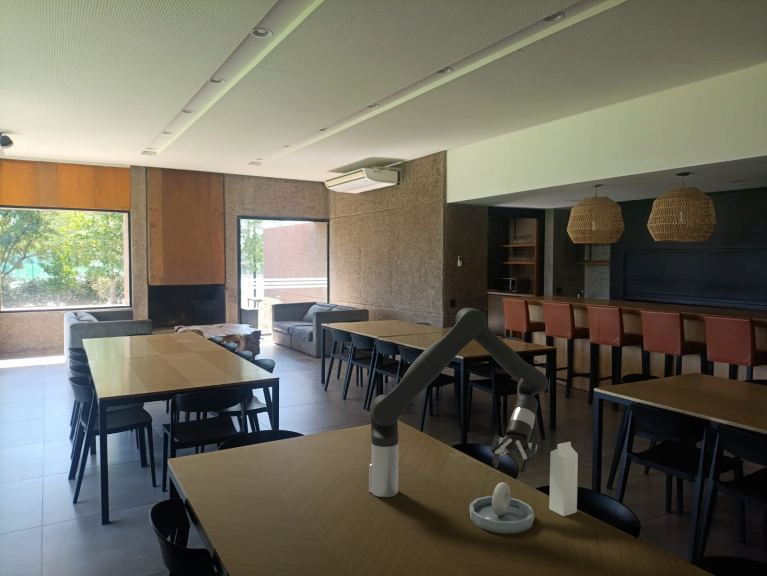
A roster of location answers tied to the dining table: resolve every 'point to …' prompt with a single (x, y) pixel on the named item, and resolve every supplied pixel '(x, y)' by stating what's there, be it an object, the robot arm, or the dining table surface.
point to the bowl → (510, 523)
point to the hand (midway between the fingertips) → (507, 469)
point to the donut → (501, 499)
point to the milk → (563, 479)
